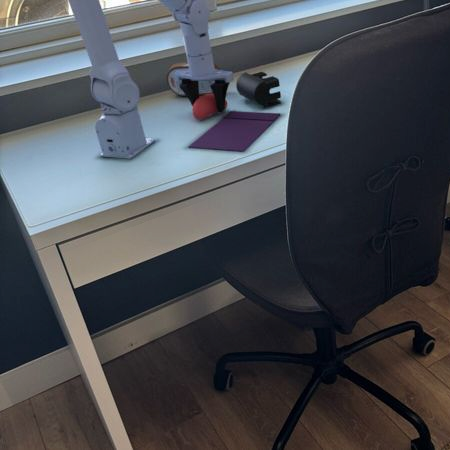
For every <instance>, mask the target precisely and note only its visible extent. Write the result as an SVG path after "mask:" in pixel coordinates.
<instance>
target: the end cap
mask: <svg viewBox="0 0 450 450" xmlns="http://www.w3.org/2000/svg"><path fill="white" fill-rule="evenodd" d="M267 76H268V74H267V73H266V72H264V71H259V72H256V73H248V72H243V73H241V74H239V77H238V78H237V80H236V84H235V86H236V91H237V93H238V94H239V95H240V96H242V97H244V98H245V99H247V100H249V101H251V102H253V104H256V105H258V106H260V107H262V108H263V109H269V108H272V107H275V106H279V105H281V104H282V102H281V100H280V99H282V94H281V91H280V90H279V91H276V92H275V91H274V92H270V91H271V90H272V89H275V88H278V87H280V86H281V85H280V79H279V78H278V77H277V76H273V75H272V76H268V77H267Z"/></svg>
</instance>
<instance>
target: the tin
mask: <svg viewBox="0 0 450 450" xmlns="http://www.w3.org/2000/svg"><path fill="white" fill-rule="evenodd" d="M214 68H215V69H217V70H222V68H221V67H220V66H219V65H217V63H215V62H214ZM183 70H189V66H188V61H187V62H177V63H174V64H172V65H171V66H170V67H169V69H168V71H167V73H166V75H165V76H166V77H165V80H166V81H165V82H166V84H167V87H168V89H169V90H170V91H171V92H172V93H174V95H177V96H180V97H187V96H186V94H185V93H184V92H183V91H182V90H181V89H180V87H179V85H180V84H181V82H182V81H181V80H180V81H175V77H174V73H175V72H176V71H183ZM213 83H215V81H199V96H203V95H205V94H213V91H212V89H211V88H210V85H212V84H213Z"/></svg>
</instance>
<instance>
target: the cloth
mask: <svg viewBox="0 0 450 450" xmlns="http://www.w3.org/2000/svg"><path fill="white" fill-rule="evenodd" d="M281 116H282V113H278V112H257V111H237V110H235V111H234V110H230V111H228V112H227V113H226V114H225V115H224V116H223V117H222V118H221V119H220V120H219V121H217V123H215V124H214V125H212V126H211V128H209V129H207V131H205V133H203V134H202V135H200V136H199V137H198V138H197V139H196V140H195V141H193V142H192V143H191V144H190V145H189V146H188V149H200V150H201V149H202V150H214V151H215V150H216V151H227V152H241V153H244V152H245V151H246V150H247V149H248V148H249V147H250V146H251V145H252V144H253V143H254V142H255V141H256V140H257V139H259V137H260V136H261V135H263V133H265V132H266V130H267V129H269V127H271V125H272V124H274V123H275V122H276V121H277V120H278V119H279V118H280V117H281Z"/></svg>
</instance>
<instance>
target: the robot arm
mask: <svg viewBox="0 0 450 450" xmlns="http://www.w3.org/2000/svg"><path fill="white" fill-rule="evenodd" d="M67 1H68V3H69V6H70V9H71V11H72V14H73V17H74V20H75V22H76V23H75V24H76V25H77V28H78V31H79V34H80V36H81V39H82V42H83V45H84V48H85V50H86V52H87V56H88V58H89V61H90V64H91V67H90V69H89V71H88V74H89V78H90V93H91V95H92V97H93V98H94V100H95V101H97V102H98V103H100V109H101V116H100V118H99V119H98V120H97V121H96V122H95V127H94V128H95V133H96V135H97V139H98V142H99V146H100V149H101V153H100V154H99V155H100V157H105V158H106V157H107V158H117V159H127V160H128V159H129V160H130V159H132V158H134V157H135V156H136V155H138V154H139V153H141V152H142V151H143V150H145V149H146V148H147V147H149V146H150V145H151V144H153V143H154V142H155V141H156V138H151V137H146V135H145V131H144V127H143V123H142V119H141V116H140V111H139V107H138V103H139V101H140V97H141V94H140V93H141V92H140V88H139V87H138V85H137V84H136V83H135V82H134V81H133V79H132V78H131V75H130V73H129V70H128V69H127V68H126V66H124V64H123V63H122V62H121V61H120V58H119V55H118V53H117V50H116V46H115V44H114V41H113V38H112V35H111V33H110V29H109V25H108V23H107V19H106V17H105V14H104V11H103V8H102V4H101V2H100V0H67ZM157 1H158V2H159V3H160V4H162V5H163V6H164V7H165V8H167V10H169V11H170V12H171V15H172V17H173V19H174V21H176V22H178V23H179V26H180V30H181V35H182V36H181V37H182V40H183V45H184V50H185V55H186V61H187V62H188V66H189V70H183V71H176V72H175V73H174V77H175V81H180V80H181V81H182V82H181V84H180V85H179V87H180V89H181V90H182V91H183V92H184V93H185V94H186V96H185V97H187V99H188V101H189V103H190V105H191V106H192V107H193V105H194V103H195V101H196V100H197V99H198V98H199V97H200V95H199V81H215V83H213V84H212V85H210V88H211V89H212V91H213V94H214V97H215V100H216V105H217V110H218V113H219V114H221V113H223V112H224V111H225V110H226V109H225V99H226V97H227V93H228V89H229V85H230V83H232V82H233V81H234V80H235V78H234V73H233V71H229V70H228V71H227V70H222V69H221V70H217V69H215V68H214V63H215V62H214V58H213V51H212V45H211V40H210V35H209V20H210V17H211V8H209V7H208V5H207V3H206V1H205V0H157ZM226 100H227V99H226ZM218 113H217V114H218Z"/></svg>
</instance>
